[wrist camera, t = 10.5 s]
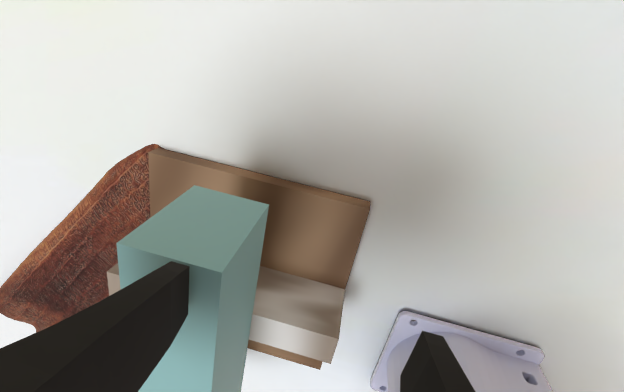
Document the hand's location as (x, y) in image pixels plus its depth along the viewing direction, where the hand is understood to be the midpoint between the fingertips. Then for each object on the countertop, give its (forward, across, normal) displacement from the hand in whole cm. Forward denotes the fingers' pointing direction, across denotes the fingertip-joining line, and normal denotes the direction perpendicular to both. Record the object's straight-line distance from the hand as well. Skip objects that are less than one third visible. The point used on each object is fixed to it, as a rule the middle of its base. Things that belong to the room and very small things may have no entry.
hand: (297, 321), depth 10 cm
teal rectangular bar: (+5, +4, +7) cm, 10 cm away
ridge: (+10, +4, +7) cm, 13 cm away
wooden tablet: (+11, +16, +12) cm, 23 cm away
